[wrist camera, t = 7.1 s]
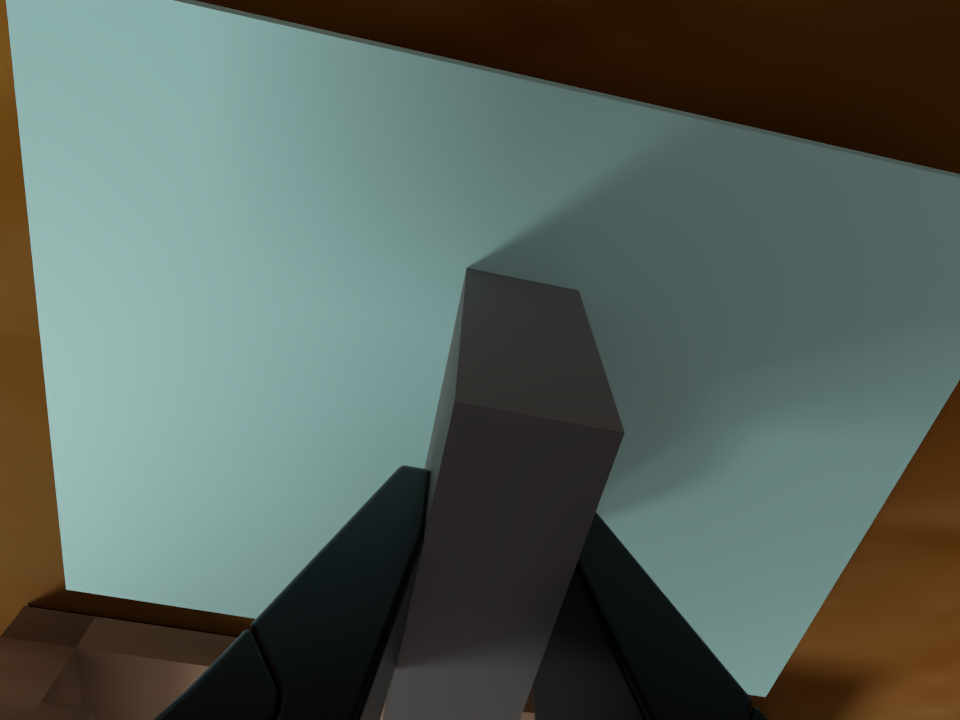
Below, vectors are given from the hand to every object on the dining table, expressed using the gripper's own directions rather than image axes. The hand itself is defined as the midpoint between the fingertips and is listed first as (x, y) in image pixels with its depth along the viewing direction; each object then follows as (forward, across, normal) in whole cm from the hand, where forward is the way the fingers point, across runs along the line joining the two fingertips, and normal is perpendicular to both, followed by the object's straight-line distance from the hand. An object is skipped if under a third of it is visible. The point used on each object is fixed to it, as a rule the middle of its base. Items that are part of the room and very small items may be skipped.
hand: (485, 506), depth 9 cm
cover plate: (+3, 0, 0) cm, 3 cm away
